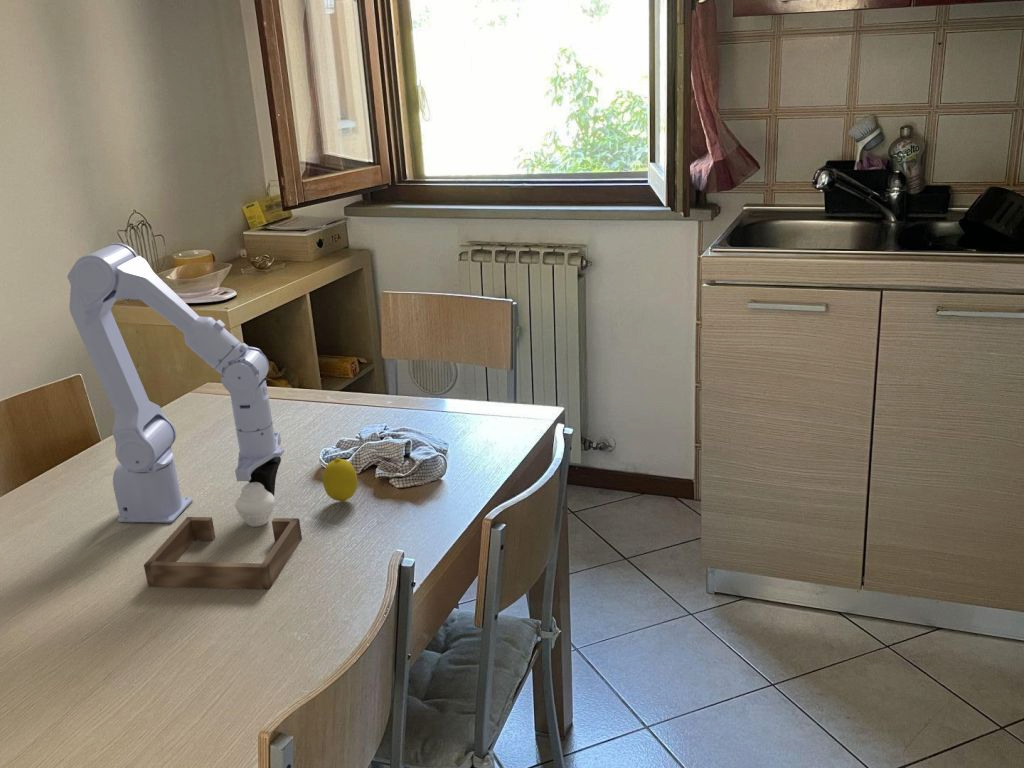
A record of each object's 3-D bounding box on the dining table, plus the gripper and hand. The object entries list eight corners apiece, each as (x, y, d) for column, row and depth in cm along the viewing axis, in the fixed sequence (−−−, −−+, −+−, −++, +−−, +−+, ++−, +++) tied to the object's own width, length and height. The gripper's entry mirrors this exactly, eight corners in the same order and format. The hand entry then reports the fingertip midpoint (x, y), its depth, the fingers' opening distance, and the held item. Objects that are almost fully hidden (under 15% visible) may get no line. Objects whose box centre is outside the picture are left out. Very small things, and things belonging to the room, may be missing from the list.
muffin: (259, 534, 145) (252, 494, 143) (230, 527, 148) (223, 487, 146) (285, 517, 150) (280, 478, 148) (257, 509, 153) (251, 471, 151)
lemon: (353, 511, 151) (347, 466, 149) (321, 509, 152) (314, 465, 150) (364, 495, 156) (359, 451, 154) (333, 493, 158) (327, 450, 155)
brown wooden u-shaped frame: (148, 586, 133) (143, 564, 132) (191, 536, 146) (187, 516, 145) (269, 589, 131) (265, 567, 129) (302, 538, 144) (299, 518, 142)
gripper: (261, 443, 141) (274, 523, 146) (293, 407, 154) (304, 481, 159) (217, 443, 142) (231, 523, 147) (252, 408, 155) (264, 481, 160)
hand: (266, 501), depth 153 cm, fingers closed
